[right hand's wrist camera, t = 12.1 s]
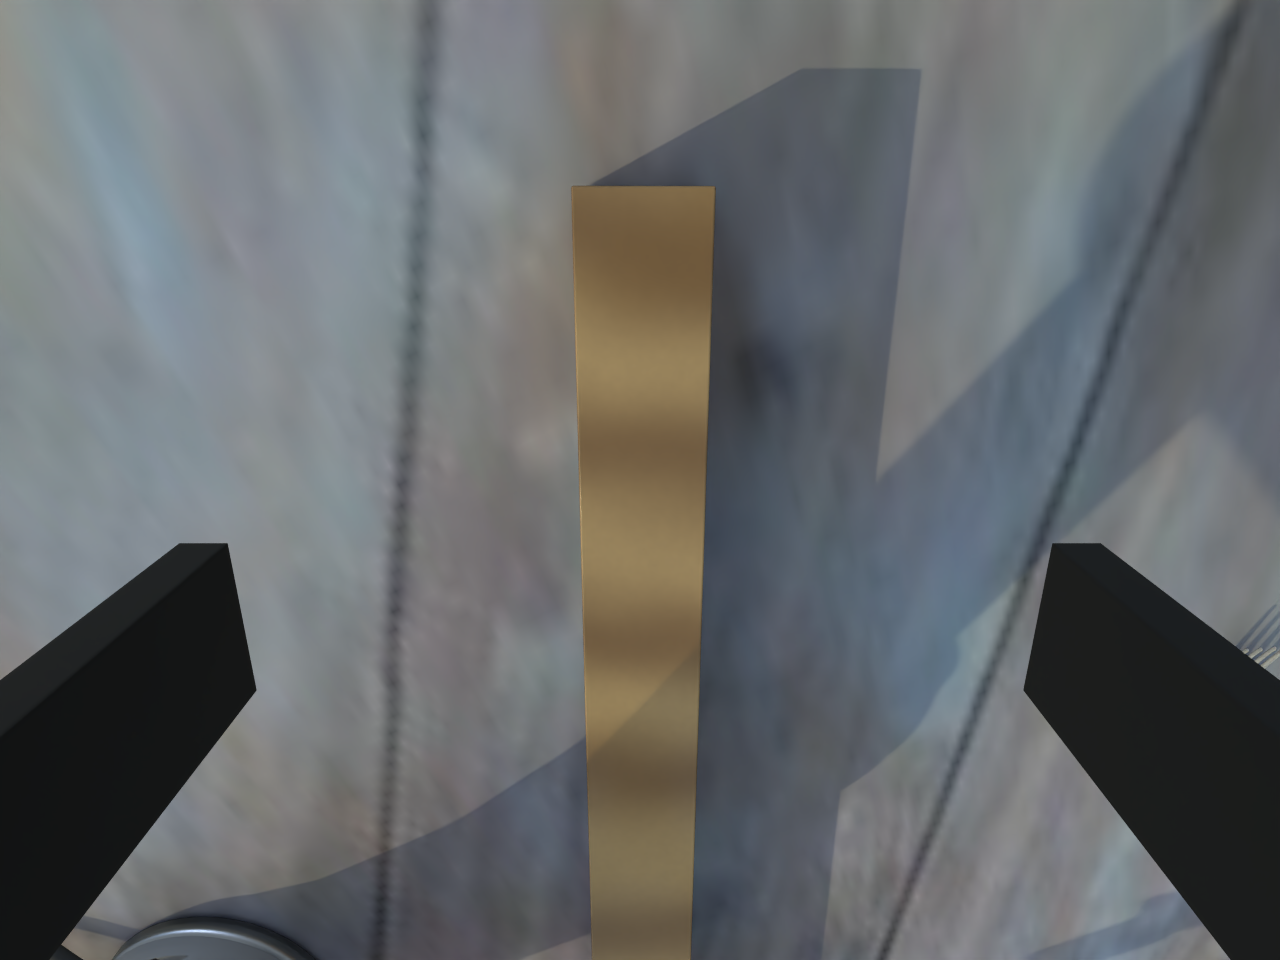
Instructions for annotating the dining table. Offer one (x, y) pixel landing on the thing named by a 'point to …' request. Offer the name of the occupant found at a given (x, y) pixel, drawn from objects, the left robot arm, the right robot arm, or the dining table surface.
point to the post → (642, 548)
